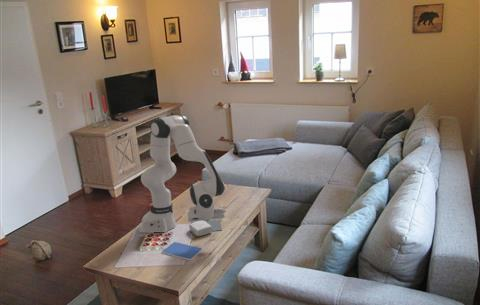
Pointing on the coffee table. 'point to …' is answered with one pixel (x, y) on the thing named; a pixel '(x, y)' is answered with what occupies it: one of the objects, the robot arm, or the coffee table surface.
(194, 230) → the photo printer
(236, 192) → the coffee table surface
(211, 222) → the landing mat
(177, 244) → the tablet computer
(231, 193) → the coffee table surface
